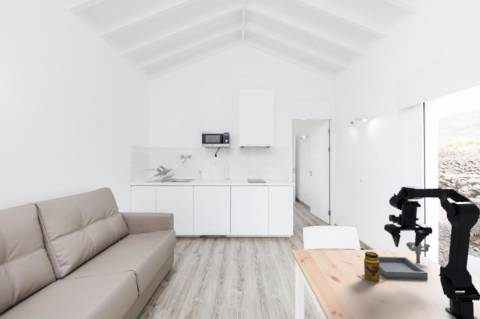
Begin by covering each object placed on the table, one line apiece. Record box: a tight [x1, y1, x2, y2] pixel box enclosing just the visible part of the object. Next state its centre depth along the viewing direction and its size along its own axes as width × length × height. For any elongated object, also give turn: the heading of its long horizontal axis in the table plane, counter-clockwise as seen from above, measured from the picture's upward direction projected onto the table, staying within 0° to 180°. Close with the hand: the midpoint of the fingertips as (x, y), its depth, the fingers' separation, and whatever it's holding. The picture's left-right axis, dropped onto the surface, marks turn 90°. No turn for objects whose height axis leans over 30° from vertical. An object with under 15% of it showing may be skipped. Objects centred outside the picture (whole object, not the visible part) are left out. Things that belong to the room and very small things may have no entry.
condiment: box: [358, 251, 385, 285], centre depth 112 cm, size 7×8×12 cm
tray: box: [378, 256, 429, 280], centre depth 121 cm, size 18×18×3 cm
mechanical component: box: [406, 241, 430, 264], centre depth 129 cm, size 3×10×10 cm, turn 78°
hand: (406, 246), depth 113 cm, fingers open, 9 cm apart
